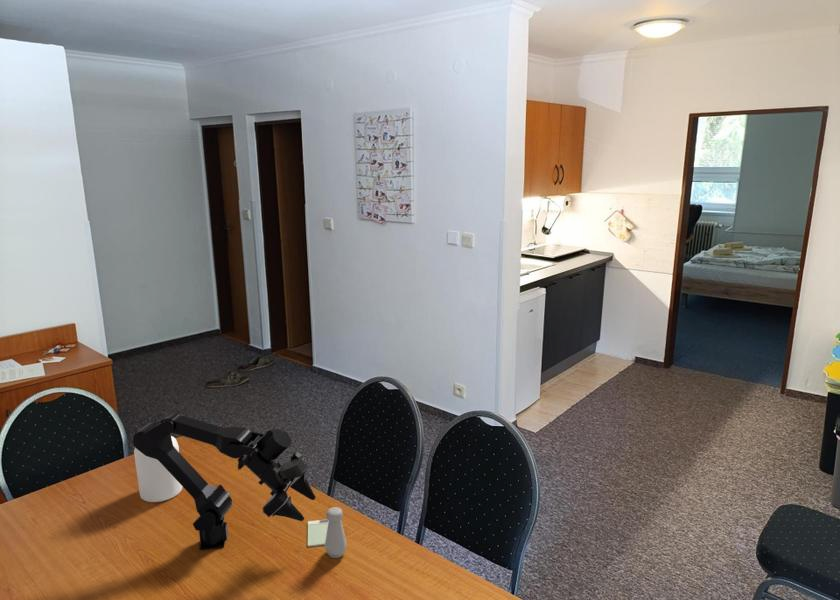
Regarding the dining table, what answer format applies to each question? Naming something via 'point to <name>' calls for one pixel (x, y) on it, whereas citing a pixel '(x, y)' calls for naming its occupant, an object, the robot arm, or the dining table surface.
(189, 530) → the dining table surface
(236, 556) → the dining table surface
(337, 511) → the salt shaker
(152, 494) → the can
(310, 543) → the pad
